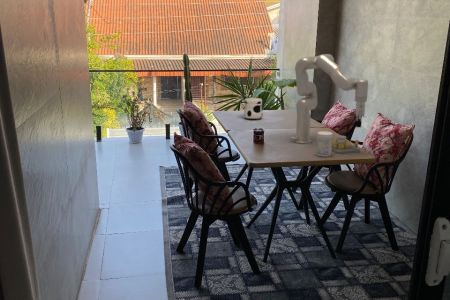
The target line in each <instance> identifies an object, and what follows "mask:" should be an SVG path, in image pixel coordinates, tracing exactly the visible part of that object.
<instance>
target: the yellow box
mask: <svg viewBox="0 0 450 300" xmlns="http://www.w3.org/2000/svg"><path fill="white" fill-rule="evenodd" d="M337 140H338V138H334V139H333V140H332V147H334V148H338V149H348V148H350V147H354V148H356V149H358V148H359V140H357V139H355V141H354V143H353V144H352V143H351V141H349V139H345V144H340V143H338V142H337Z"/></svg>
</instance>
